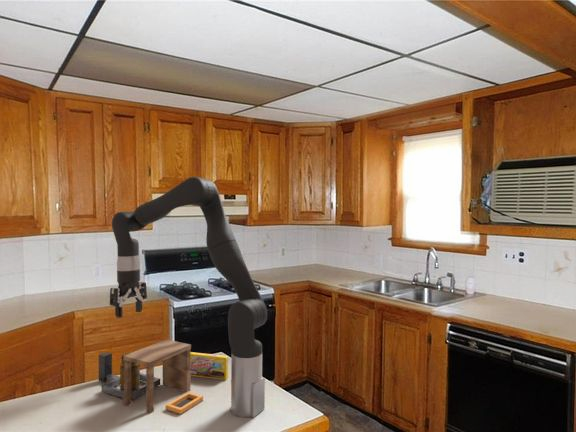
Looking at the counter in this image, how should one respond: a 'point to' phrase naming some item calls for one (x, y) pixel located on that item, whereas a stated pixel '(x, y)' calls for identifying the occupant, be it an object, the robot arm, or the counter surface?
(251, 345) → the robot arm
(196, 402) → the pit trap
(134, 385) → the condiment
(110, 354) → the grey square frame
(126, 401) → the wooden side table
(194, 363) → the candy box
